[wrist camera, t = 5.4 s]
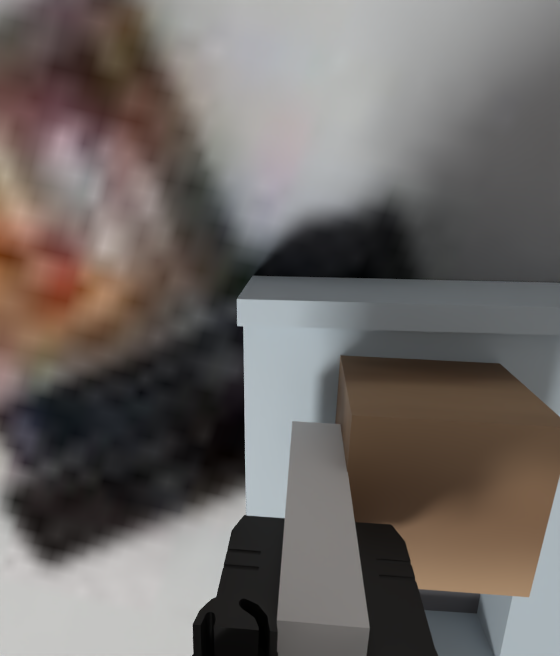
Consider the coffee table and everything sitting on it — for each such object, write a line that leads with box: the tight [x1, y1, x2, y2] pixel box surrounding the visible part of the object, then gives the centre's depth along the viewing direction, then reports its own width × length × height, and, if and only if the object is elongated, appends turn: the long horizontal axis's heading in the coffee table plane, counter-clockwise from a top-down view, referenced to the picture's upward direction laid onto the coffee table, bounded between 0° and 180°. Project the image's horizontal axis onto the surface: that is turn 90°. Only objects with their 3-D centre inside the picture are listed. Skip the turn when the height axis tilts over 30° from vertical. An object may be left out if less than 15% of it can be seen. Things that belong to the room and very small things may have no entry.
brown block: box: [335, 355, 560, 597], centre depth 13 cm, size 5×5×4 cm
